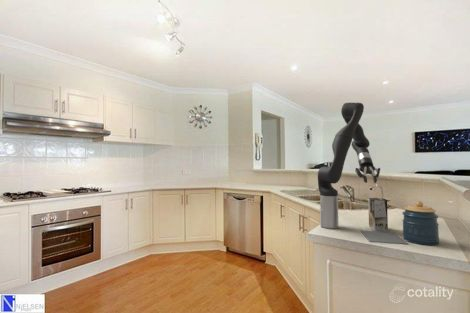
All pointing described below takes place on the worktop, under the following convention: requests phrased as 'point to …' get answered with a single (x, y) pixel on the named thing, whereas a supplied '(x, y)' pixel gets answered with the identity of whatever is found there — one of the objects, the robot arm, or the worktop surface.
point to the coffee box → (378, 214)
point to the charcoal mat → (383, 237)
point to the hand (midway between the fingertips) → (370, 181)
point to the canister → (420, 224)
